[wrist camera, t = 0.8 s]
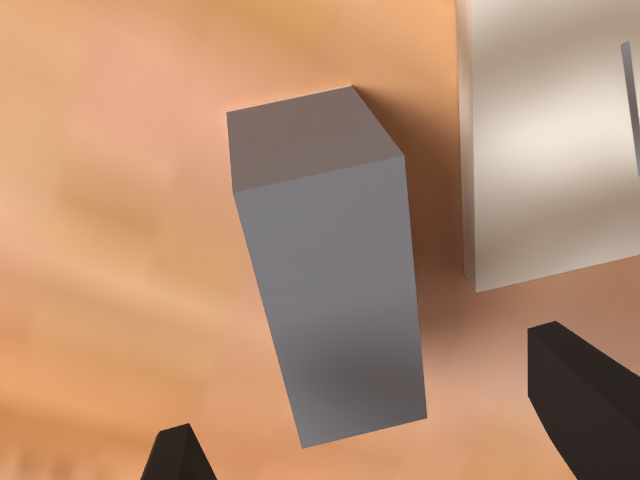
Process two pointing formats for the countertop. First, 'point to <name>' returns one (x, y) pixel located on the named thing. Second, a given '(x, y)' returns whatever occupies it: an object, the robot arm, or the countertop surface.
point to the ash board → (548, 136)
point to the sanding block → (331, 259)
